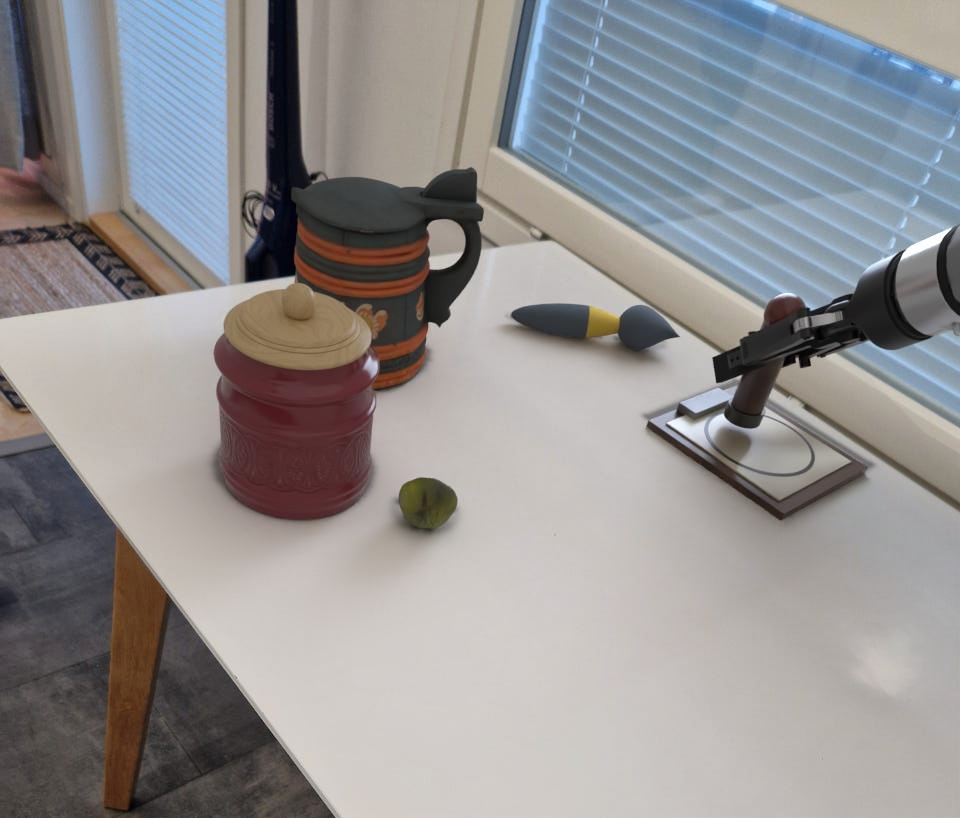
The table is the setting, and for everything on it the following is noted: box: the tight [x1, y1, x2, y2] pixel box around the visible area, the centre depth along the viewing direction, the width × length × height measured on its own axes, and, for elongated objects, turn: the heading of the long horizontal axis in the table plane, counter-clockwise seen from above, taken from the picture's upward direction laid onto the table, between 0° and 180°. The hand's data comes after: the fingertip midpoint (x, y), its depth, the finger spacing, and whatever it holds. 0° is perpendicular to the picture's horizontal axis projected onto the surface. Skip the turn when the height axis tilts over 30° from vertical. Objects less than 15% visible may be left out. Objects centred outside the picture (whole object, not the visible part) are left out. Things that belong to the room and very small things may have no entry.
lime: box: [398, 476, 459, 529], centre depth 76 cm, size 4×5×5 cm
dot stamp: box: [724, 292, 807, 429], centre depth 91 cm, size 4×4×14 cm
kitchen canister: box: [213, 283, 380, 520], centre depth 74 cm, size 13×13×18 cm
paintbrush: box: [510, 302, 681, 351], centre depth 105 cm, size 20×5×5 cm, turn 91°
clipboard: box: [645, 384, 869, 521], centre depth 95 cm, size 18×16×2 cm
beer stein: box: [290, 166, 485, 390], centre depth 89 cm, size 19×15×20 cm
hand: (732, 368), depth 95 cm, fingers closed on dot stamp, 3 cm apart
